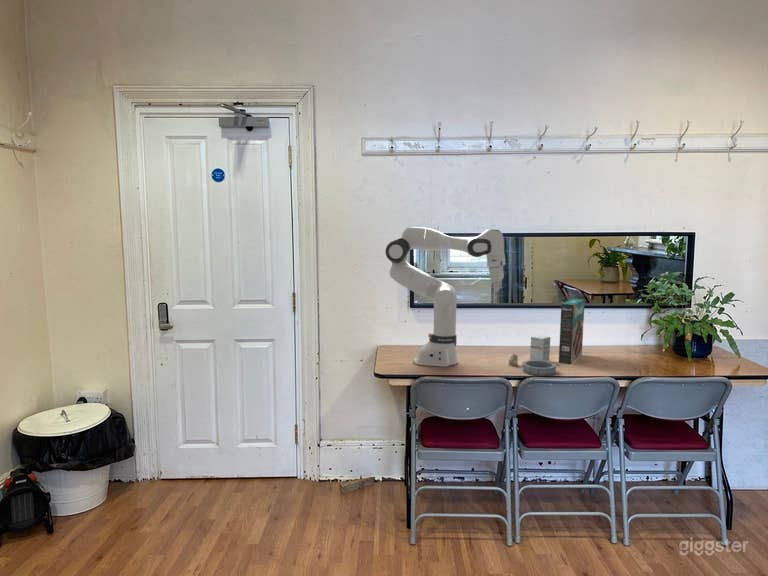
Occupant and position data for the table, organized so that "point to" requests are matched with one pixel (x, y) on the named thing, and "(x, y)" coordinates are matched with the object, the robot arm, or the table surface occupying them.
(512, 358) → the wooden bead
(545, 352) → the supplement box
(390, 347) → the table surface
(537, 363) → the round dish
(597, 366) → the table surface
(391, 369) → the table surface
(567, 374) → the table surface
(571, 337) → the cake mix box
